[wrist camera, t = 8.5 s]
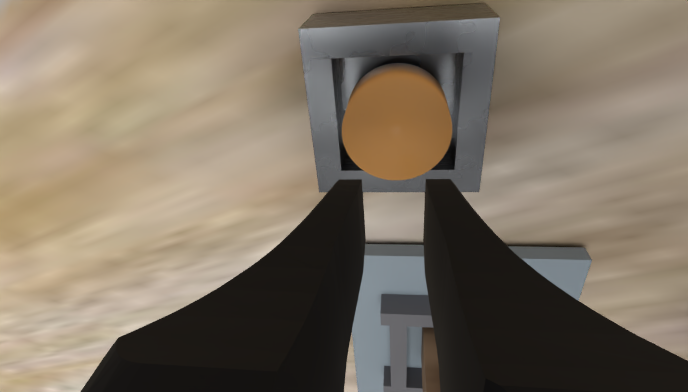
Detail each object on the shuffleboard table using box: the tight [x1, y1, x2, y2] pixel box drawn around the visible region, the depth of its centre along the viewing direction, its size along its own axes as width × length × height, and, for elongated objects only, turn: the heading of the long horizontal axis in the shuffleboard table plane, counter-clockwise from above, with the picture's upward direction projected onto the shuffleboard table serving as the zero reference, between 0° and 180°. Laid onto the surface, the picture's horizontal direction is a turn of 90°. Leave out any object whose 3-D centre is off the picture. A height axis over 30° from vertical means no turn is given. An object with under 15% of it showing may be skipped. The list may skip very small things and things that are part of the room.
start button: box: [342, 63, 452, 180], centre depth 16 cm, size 4×4×2 cm
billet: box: [421, 327, 440, 392], centre depth 24 cm, size 4×4×6 cm
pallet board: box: [352, 244, 592, 392], centre depth 26 cm, size 13×14×2 cm
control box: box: [298, 3, 500, 192], centre depth 18 cm, size 7×7×3 cm
